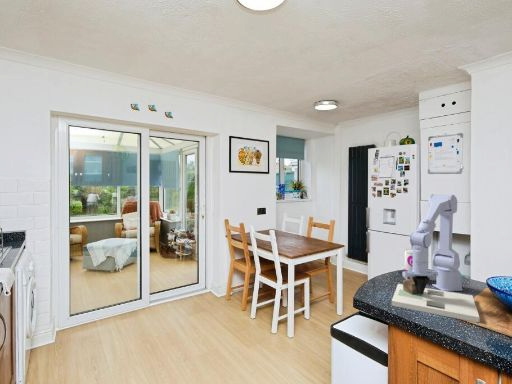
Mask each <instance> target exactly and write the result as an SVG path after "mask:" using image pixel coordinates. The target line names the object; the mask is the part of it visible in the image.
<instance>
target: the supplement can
mask: <svg viewBox="0 0 512 384" xmlns="http://www.w3.org/2000/svg"><path fill="white" fill-rule="evenodd" d="M403 262H404V263H403V264H404V265H403V266H404V268H403V270H404V271H410V270H412V269H413V250H412V248H410V249H409V248H408V249H405V251H404V261H403ZM404 271H403V272H404ZM403 278H404V280H408V279H412V277H407V278H405V277H403Z"/></svg>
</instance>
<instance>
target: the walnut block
mask: <svg viewBox="0 0 512 384" xmlns="http://www.w3.org/2000/svg"><path fill="white" fill-rule="evenodd" d="M402 284H403V291H406V292H408V293H410V294H412V295H413V294H418V293H417V289H416V286H415V283H414V281H413V279H408V280H406V279H403V280H402Z"/></svg>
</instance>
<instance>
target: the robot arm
mask: <svg viewBox="0 0 512 384" xmlns="http://www.w3.org/2000/svg"><path fill="white" fill-rule="evenodd" d="M427 202H428V206H429V208H428V211H427V214H426V217H425V218H423V219H421V220H420V222H419V225H418V227H417V228H416V231H414V232H412V233H411V234H410V236H409V244H410V249H412V250H413V269H412V270H410V271H402V275H401V276H402V277H403V278H404V277H405V278H407V277H412V279H413V281H414V283H415V286H416V289H417V293H419V294H423V293H424V290H425V288H427V285H428V283H429V282H430V281H431V280H430V277H436V283H432V284H431V285H432V286H433V287H435V288H437V290H441V291H447V292H459V291H460V292H461V291H463V288H462V284H463V283H462V277H463V276H462V273H461V271H460V270H459V269H460V266H461V261H460V254H459V253H458V252H457V251H456V250H454V249H453V221H454V214H455V213H457V212H458V199H457V196H455V194H430V196H429V197H428V201H427ZM438 217H439V219H440V220H439V244H438V245H439V247H438V248H437V249H434V251H433V252H432V253H433V254H432V258H431V263H432V265H433V266H434V269H436V270H432V269H431V270H429V248H430V247H431V245H432V239H433V235H432V234H433V233H434V231H435V228H436V227H437V224H436V221H437V219H438ZM405 278H404V279H405Z"/></svg>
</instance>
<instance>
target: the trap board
mask: <svg viewBox="0 0 512 384" xmlns="http://www.w3.org/2000/svg"><path fill="white" fill-rule="evenodd" d="M391 306H392V307H396V308H397V307H398V308H402V309H407V310H412V311H415V312H422V313H427V314H431V315H438V316H443V317H448V318H453V319H457V320H462V321H467V322H472V323H477V322H479V323H480V315H479V312H478V309H477V305H476V303H475V299H474V297H473V295H472V294H464V293H459V292H454V291H442V290H440V289H433V288H427V287H425V290H424V293H423V294H419V293H418V294H413V295H412V294H410V293H408V292H406V291H403V283H397V285H396V289H395V290H394V293H393V296H392V299H391Z"/></svg>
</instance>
